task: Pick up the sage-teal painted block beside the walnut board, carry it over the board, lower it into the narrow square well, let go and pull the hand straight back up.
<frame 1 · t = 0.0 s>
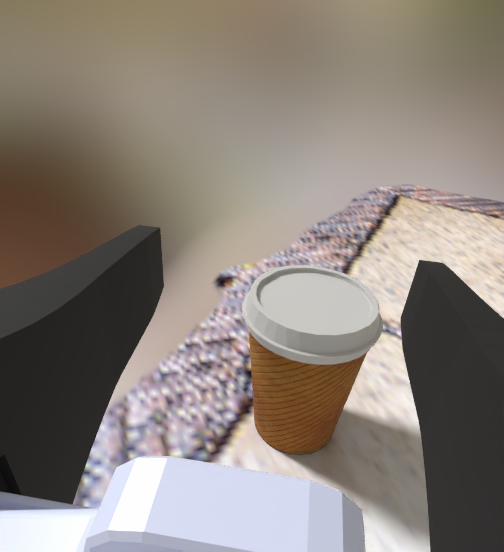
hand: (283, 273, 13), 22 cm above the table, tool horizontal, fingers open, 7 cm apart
disposable coffee cup: (293, 423, 36), on the table
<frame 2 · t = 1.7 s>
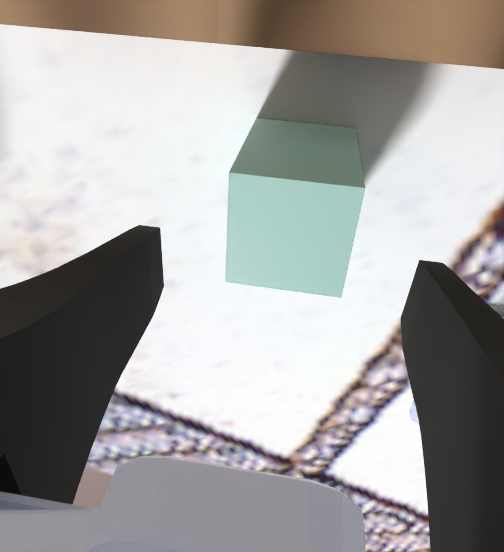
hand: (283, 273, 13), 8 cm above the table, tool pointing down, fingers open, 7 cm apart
teal block: (300, 170, 19), on the table
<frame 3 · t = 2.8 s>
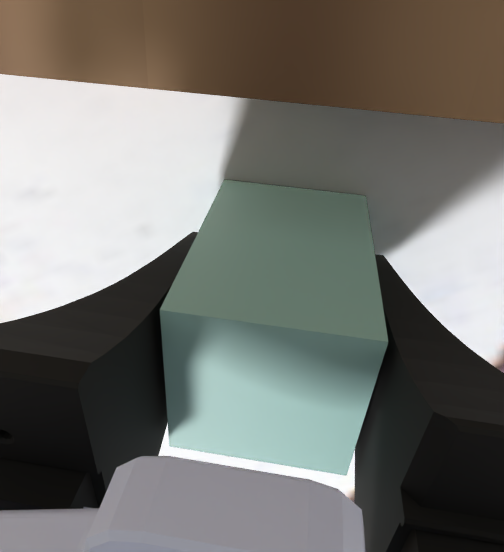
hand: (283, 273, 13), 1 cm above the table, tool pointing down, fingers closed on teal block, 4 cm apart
teal block: (286, 248, 14), on the table, touching gripper
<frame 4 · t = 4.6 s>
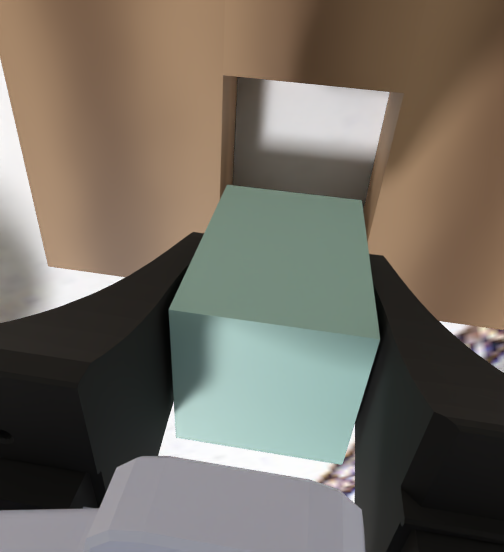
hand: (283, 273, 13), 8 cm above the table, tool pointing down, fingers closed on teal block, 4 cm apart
well board: (304, 144, 19), on the table
teal block: (286, 249, 15), point 7 cm above the table, touching gripper
when the fingers open (3 cm above the table, at t = 6.5 s): teal block drops 2 cm, resting in well board.
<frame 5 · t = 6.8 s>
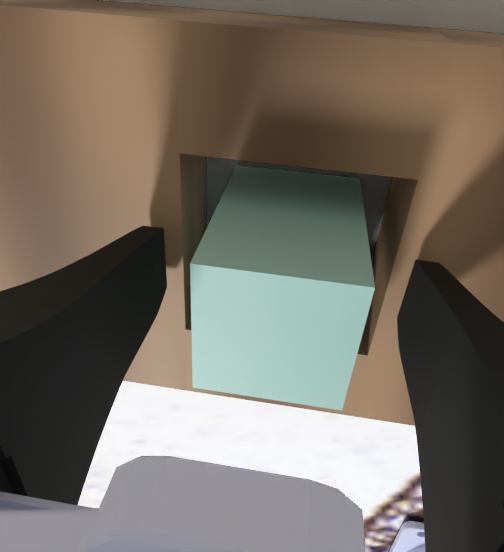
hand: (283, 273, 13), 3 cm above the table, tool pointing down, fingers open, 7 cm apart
well board: (291, 218, 16), on the table
teal block: (290, 226, 16), resting in well board
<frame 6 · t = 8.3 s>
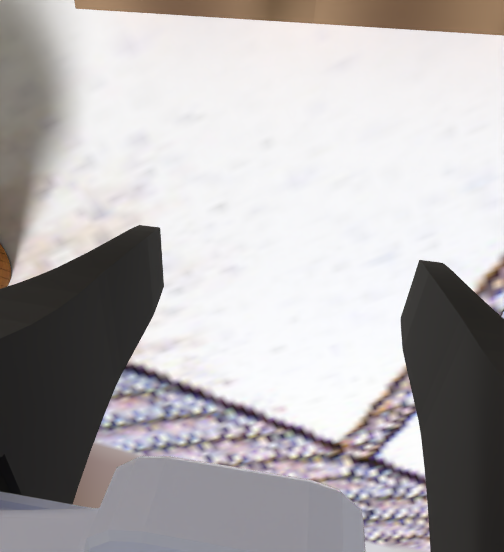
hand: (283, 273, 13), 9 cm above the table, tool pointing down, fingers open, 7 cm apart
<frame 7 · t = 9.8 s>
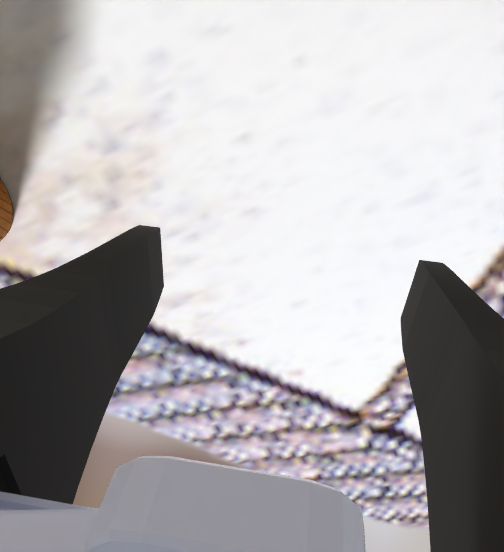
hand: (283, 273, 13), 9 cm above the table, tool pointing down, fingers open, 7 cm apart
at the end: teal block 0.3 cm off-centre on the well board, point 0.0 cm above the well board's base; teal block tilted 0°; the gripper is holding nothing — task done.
